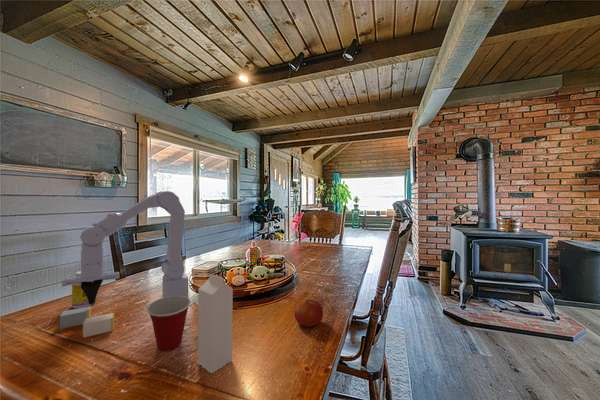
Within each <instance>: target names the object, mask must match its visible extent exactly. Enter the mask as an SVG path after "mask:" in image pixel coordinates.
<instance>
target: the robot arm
mask: <svg viewBox="0 0 600 400" xmlns="http://www.w3.org/2000/svg"><path fill="white" fill-rule="evenodd" d="M151 208H160V209H164V211H166V212H167V213H168V214H169V215H170V217H169V218H170V219H169V227H168V228H169V229H168V237H167V239H168V240H167V248H166V255H165V256H164V260H163V263H162V264H161V266H160V267H161V271H162V273H163V275H162V278H161V279H162V282H161V283H162V291H161V294H162V295H161V296H160V299H161V298H163V297H168V296H177V295H180V296H186V297H188V298H189V291H190V290H189V276H188V275H184V273H185V267H184V265H183V263H184V261H183V257H182V248H183V247H182V246H183V245H182V243H183V233H184V223H185V216H186V214H185V213H186V212H185V209H184V206H183V205H182V203H181V201H180V197H179V196H178V195H177V194H175V193H174V192H173V191H170V190H169V191H168V190H165V191H163V190H162V191H158V192H157V191H156V193H155V194H154V193H153V194H152V195H149V196H147V197H144V198H143V199H141V200H140V201H139V202H137V203H135V204H134V205H132V206H130V207H129V208H127V209H126V210H124V211H122V212H121V213H119V212H114V213H108V214H106V217H105V218H103V219H101V220H99V221H98V222H93V223H92V224H91V226H90V227H86V228H85V229H83V230H82V232H81V234H80V239H81V242H82V243H81V244H80V247H81V250H80V271H81V276H78V277H76V276H74V277H67V278H63V279H62V280H61V287H67V286H72V285H73V284H80V283H81V289H82V290H83V291H84V293H85V294H86V296H87V299H88V302H89V305H90V304H92V305H94V304H96V299H97V295H98V292H99V289H100V287H101V285H102V284H103V281H107V280H118V279H120V271H115V272H114V271H113V272H104V248H103V242H104V240H105V238H106V237H108V238H109V237H110V236H111V235H113V234H115V233H116V232H118V231H119V230H121V229H122V228H124V227H126V226H127V223H128V221H129V220H131V219H132V218H134V217H136V216H138V215H139V214H141V213H143V212H145V211H146V210H148V209H151ZM90 306H91V305H90Z"/></svg>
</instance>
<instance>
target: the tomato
mask: <svg viewBox="0 0 600 400" xmlns="http://www.w3.org/2000/svg"><path fill="white" fill-rule="evenodd" d="M323 317H324V310H323V306H322V305H321V303H320V302H318V301H317V300H313V299H310V298H306V299H304V300H301V301H299V303H297V305H296V306H295V309H294V319H295V321H296V322H297V324H298V325H300V326H302V327H303V326H304V327H313V326H316V325H319V324H320V322H322V320H323Z"/></svg>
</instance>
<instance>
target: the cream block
mask: <svg viewBox="0 0 600 400" xmlns="http://www.w3.org/2000/svg"><path fill="white" fill-rule="evenodd" d="M114 328H115V312H111V313H106V314H102V315H95V316H91V318H86V319H85V321H84V323H83V324H82V338H87V337H91V336H97V335H100V334H103V333H104V334H105V333H110V332H113V331H114Z"/></svg>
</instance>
